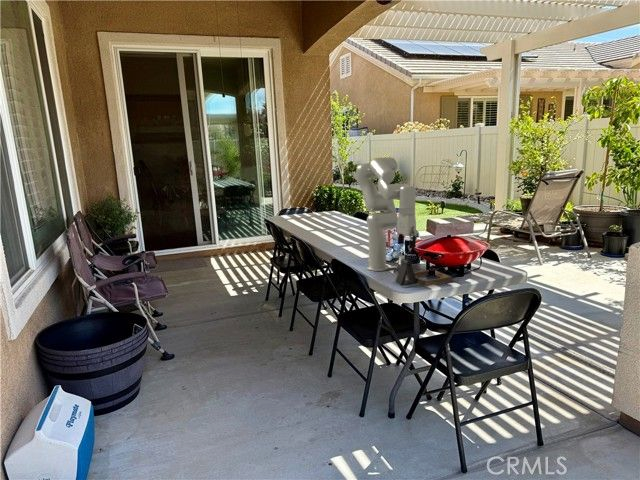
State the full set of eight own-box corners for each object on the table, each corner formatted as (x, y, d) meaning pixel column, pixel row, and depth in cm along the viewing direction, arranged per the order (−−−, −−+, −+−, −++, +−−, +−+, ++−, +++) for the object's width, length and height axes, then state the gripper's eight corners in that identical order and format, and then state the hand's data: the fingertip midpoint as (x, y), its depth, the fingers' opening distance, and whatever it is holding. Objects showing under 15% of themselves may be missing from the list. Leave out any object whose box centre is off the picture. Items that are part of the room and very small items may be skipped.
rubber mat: (392, 282, 223) (392, 281, 223) (409, 279, 227) (409, 278, 227) (404, 288, 214) (404, 287, 214) (421, 285, 218) (421, 284, 218)
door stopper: (400, 285, 217) (400, 261, 215) (395, 282, 223) (395, 259, 220) (417, 283, 219) (417, 260, 217) (411, 280, 225) (411, 257, 223)
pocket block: (406, 278, 230) (406, 273, 230) (431, 273, 236) (431, 269, 236) (425, 286, 216) (425, 281, 215) (451, 281, 222) (451, 276, 222)
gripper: (390, 209, 220) (390, 243, 224) (411, 214, 204) (410, 250, 208) (403, 208, 223) (402, 241, 226) (424, 213, 207) (423, 248, 211)
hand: (406, 245), depth 217 cm, fingers open, 9 cm apart
